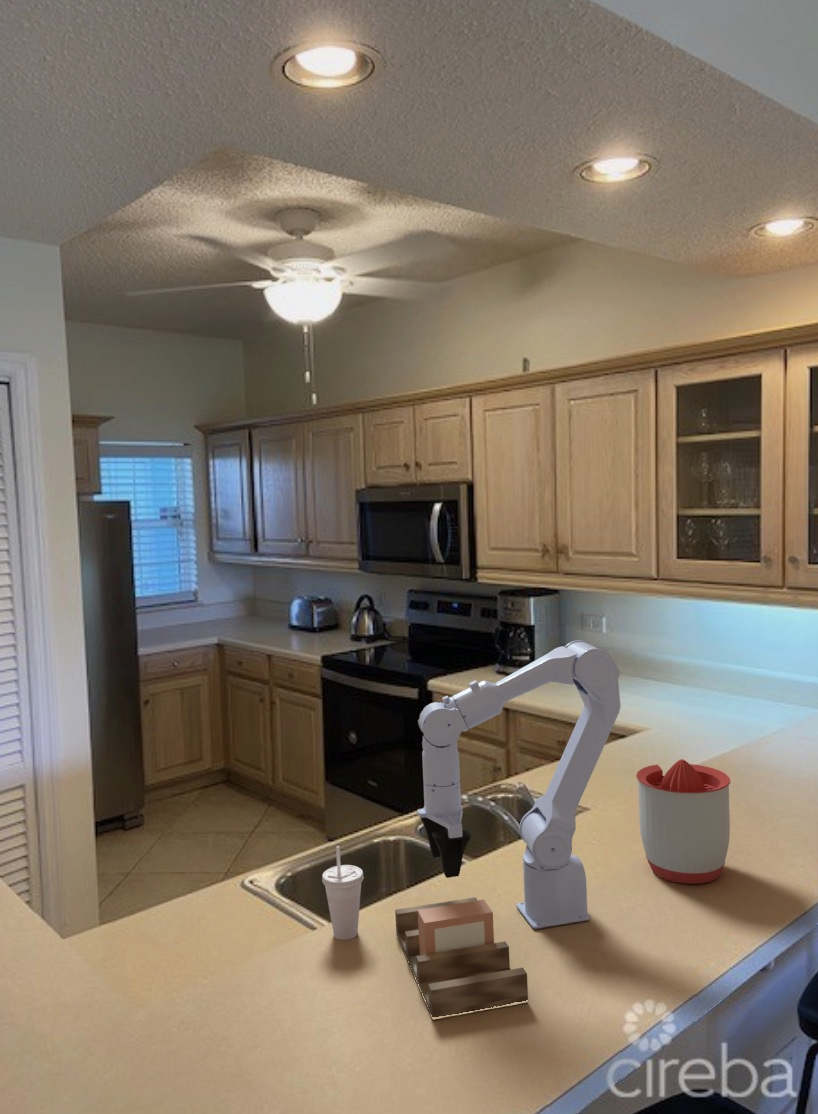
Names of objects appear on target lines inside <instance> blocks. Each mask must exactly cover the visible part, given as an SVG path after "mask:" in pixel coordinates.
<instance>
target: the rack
mask: <svg viewBox="0 0 818 1114" xmlns="http://www.w3.org/2000/svg"><path fill="white" fill-rule="evenodd" d="M477 900H478V898H477V897H469V898H461V899H455V900H450V901H443V902H442V901H441V902H435V903H429V904H424V905H418V906H411V907H404V908H397V909H395V910H394V911H395V913H394V914H395V930H396V934H397V935H396V937H397V936H398V937H397V940H398V939H399V940H398V942H399V941H400V942H399V944H400V943H401V945H400V946H402V947H401V949H402V948H403V949H402V951H403V950H404V952H405V954H406V956H405V958H406V957H407V959H408V961H409V964H410V966H411V968H412V970H413V973H414V975H415V977H416V980H417V982H418V984H419V987H420V989H421V991H422V993H423V996H424V998H425V1000H426V1003H427V1005H428V1008H429V1011H430V1013H431V1015H432V1017H439V1016H446V1015H452V1014H459V1013H463V1012H469V1011H475V1010H480V1009H485V1008H491V1007H492V1008H493V1007H494V1006H496V1007H497V1006H502V1005H506V1004H511V1003H514V1002H522V1001H526V1000H528V1001H529V991H528V990H529V989H528V973H527V971H526V970H525V969H524V967H518V968H512V969H511V965H510V946H509V945H508V943H507V942H506V941H500V942H494V943H492V944H486V945H480V946H474V947H468V948H462V949H457V950H451V951H445V952H439V953H433V954H427V955H421V956H420V951H419V929H418V910H420V909H427V908H433V907H439V906H446V905H452V904H458V903H464V902H471V901H477ZM404 952H403V953H404ZM405 954H404V955H405ZM407 959H406V960H407ZM408 961H407V962H408ZM409 964H408V965H409ZM410 966H409V967H410ZM411 968H410V969H411ZM413 973H412V974H413ZM414 975H413V976H414ZM416 980H415V981H416ZM419 987H418V988H419ZM429 1011H428V1012H429ZM430 1013H429V1014H430Z"/></svg>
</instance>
